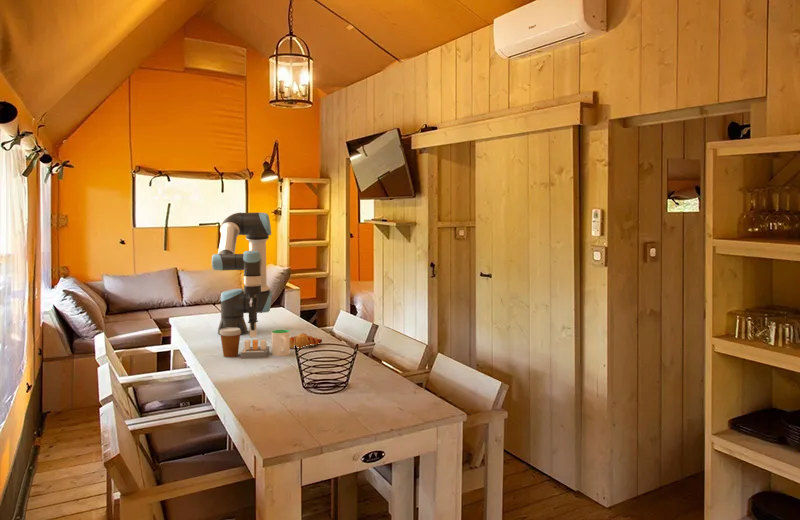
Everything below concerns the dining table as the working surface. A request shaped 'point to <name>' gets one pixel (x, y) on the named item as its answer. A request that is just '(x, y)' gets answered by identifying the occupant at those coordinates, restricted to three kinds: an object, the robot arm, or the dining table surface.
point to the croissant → (303, 340)
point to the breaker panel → (255, 353)
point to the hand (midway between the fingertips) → (253, 336)
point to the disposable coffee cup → (230, 341)
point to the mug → (280, 342)
